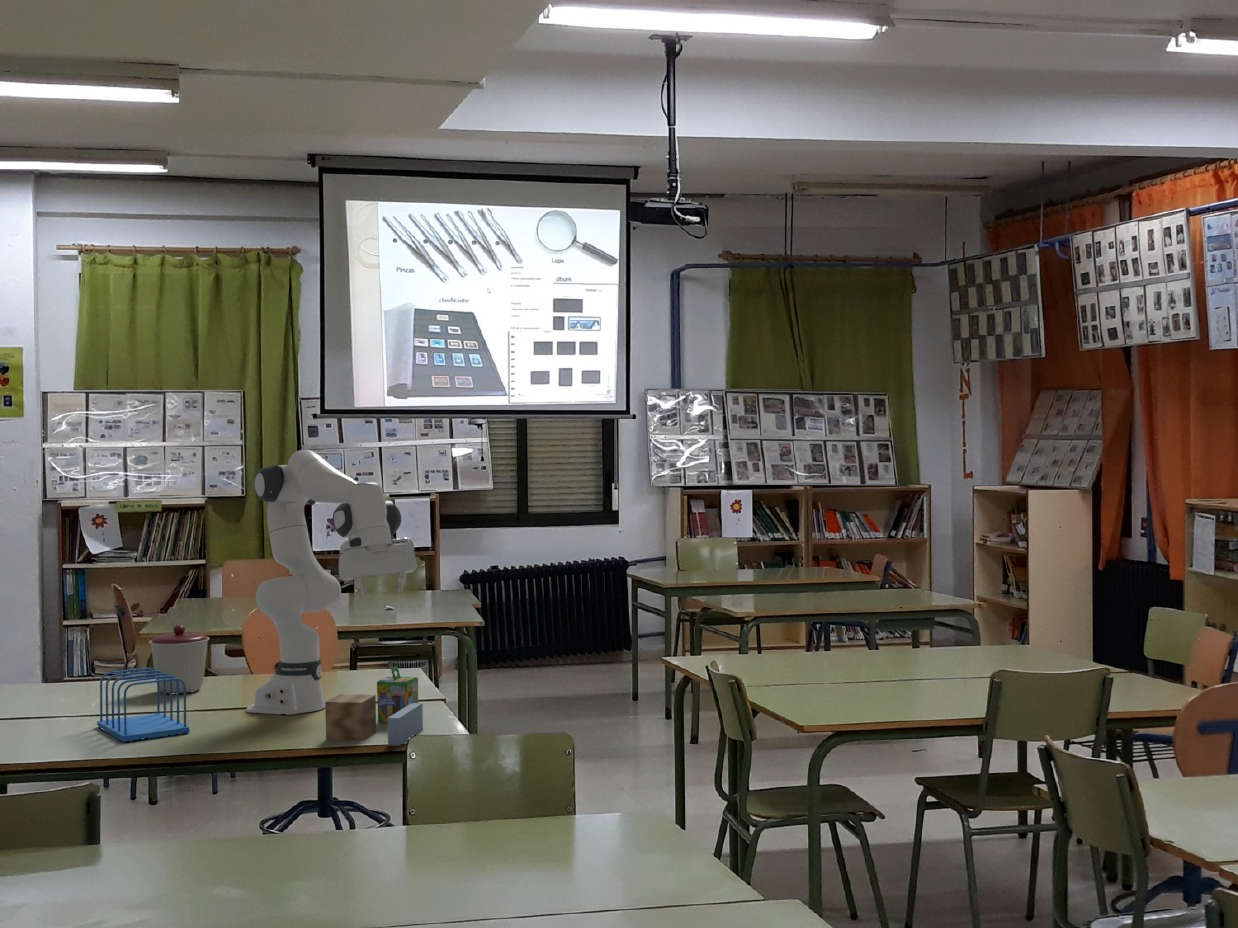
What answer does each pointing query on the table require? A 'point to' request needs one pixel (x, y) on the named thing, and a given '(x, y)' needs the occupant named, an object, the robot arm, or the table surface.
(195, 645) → the canister
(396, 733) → the board
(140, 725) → the file sorter
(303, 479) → the robot arm
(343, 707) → the walnut cube
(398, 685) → the chalk box
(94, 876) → the table surface
